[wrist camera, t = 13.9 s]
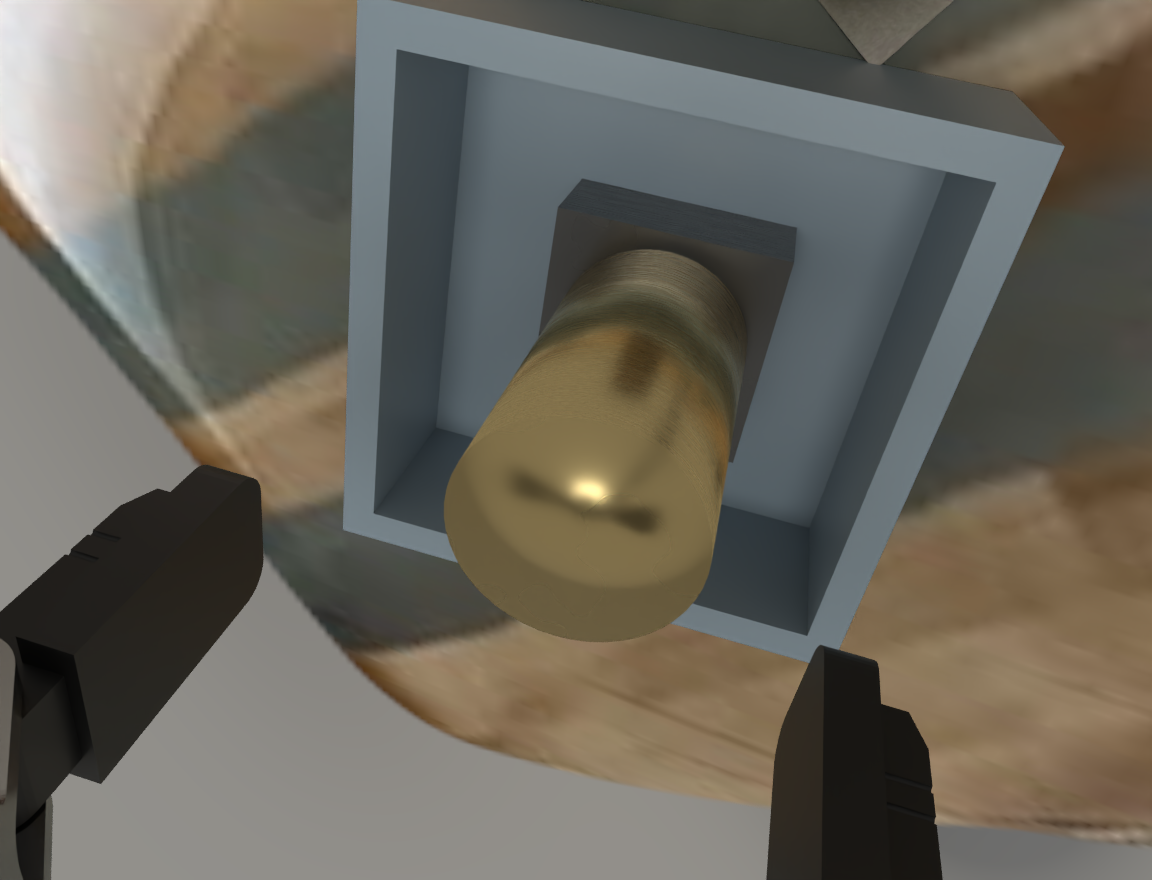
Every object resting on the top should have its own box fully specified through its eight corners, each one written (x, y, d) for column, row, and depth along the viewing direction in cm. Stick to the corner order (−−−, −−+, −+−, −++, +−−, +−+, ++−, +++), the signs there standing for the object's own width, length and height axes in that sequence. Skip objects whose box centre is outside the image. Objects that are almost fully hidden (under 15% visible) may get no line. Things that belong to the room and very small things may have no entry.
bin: (452, -27, 21) (357, -7, 17) (1012, 91, 19) (1064, 146, 15) (416, 433, 27) (343, 529, 23) (829, 545, 26) (829, 668, 22)
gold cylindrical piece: (582, 178, 22) (432, 355, 13) (796, 227, 21) (779, 444, 13) (551, 367, 25) (411, 610, 16) (740, 415, 24) (695, 693, 16)
